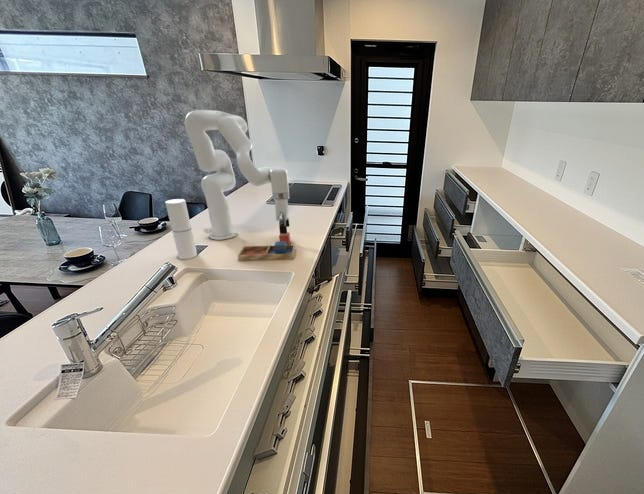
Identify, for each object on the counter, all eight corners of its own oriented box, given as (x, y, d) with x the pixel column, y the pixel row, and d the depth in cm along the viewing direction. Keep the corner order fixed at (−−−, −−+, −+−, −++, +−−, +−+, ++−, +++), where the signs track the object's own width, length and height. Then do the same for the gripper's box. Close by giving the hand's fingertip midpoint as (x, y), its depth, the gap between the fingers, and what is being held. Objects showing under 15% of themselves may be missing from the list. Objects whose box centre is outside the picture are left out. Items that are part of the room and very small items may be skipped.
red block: (279, 245, 148) (279, 236, 146) (281, 241, 152) (280, 232, 150) (289, 245, 149) (288, 235, 147) (290, 241, 153) (289, 232, 151)
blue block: (275, 255, 136) (274, 245, 134) (276, 251, 140) (275, 241, 138) (285, 255, 137) (284, 245, 135) (286, 251, 141) (285, 241, 139)
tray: (238, 260, 132) (237, 255, 131) (244, 251, 141) (243, 246, 140) (293, 259, 135) (292, 253, 134) (295, 249, 144) (294, 244, 143)
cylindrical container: (178, 260, 131) (164, 204, 121) (179, 253, 137) (165, 199, 127) (197, 257, 134) (184, 202, 124) (197, 251, 140) (185, 198, 130)
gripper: (275, 191, 148) (279, 224, 155) (269, 200, 133) (274, 236, 139) (291, 191, 149) (294, 223, 156) (287, 199, 133) (290, 235, 140)
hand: (284, 229), depth 148 cm, fingers open, 9 cm apart
